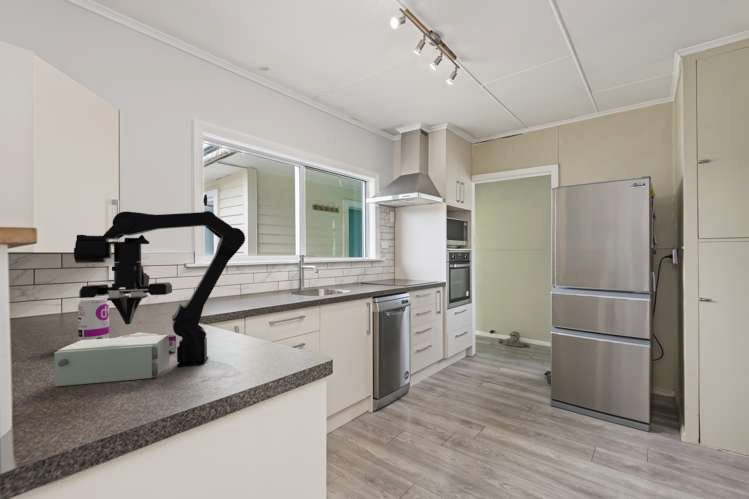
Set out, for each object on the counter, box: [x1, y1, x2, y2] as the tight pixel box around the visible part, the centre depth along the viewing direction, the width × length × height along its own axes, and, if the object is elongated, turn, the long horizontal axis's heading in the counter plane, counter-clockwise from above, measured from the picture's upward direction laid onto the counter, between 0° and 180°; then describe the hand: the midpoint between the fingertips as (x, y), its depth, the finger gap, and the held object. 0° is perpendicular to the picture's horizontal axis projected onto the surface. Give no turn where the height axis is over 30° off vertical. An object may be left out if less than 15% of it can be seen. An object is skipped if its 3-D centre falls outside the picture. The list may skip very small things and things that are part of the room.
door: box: [53, 345, 159, 387], centre depth 83 cm, size 21×2×8 cm, turn 104°
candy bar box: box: [114, 331, 177, 354], centre depth 108 cm, size 11×5×16 cm
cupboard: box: [57, 334, 170, 378], centre depth 90 cm, size 20×10×8 cm, turn 104°
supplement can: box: [77, 297, 110, 342], centre depth 122 cm, size 8×8×15 cm
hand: (128, 324), depth 91 cm, fingers closed
